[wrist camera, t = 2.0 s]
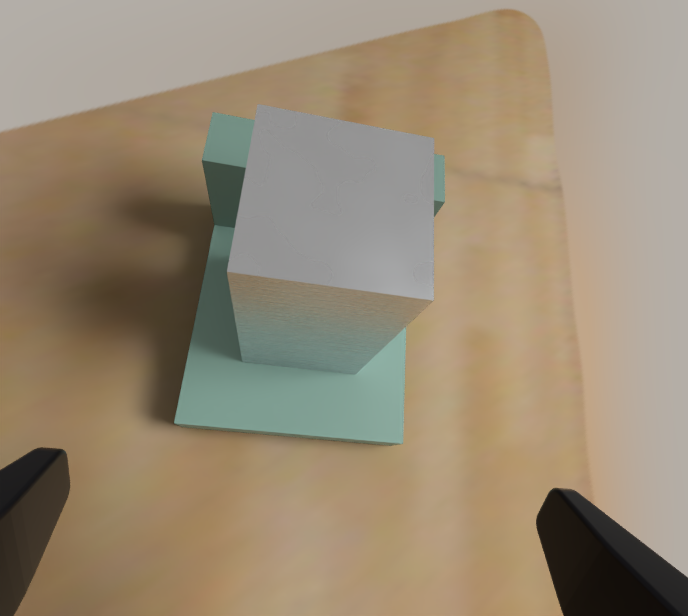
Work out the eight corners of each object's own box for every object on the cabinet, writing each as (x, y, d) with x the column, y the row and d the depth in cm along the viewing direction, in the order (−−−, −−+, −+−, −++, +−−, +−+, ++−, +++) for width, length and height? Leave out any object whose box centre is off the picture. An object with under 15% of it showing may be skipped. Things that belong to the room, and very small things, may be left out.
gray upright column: (355, 374, 20) (433, 300, 11) (242, 362, 20) (226, 271, 10) (361, 274, 22) (434, 138, 13) (258, 259, 22) (257, 104, 12)
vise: (390, 445, 22) (446, 437, 15) (181, 427, 20) (144, 409, 14) (398, 233, 26) (444, 155, 19) (225, 205, 24) (213, 112, 18)
